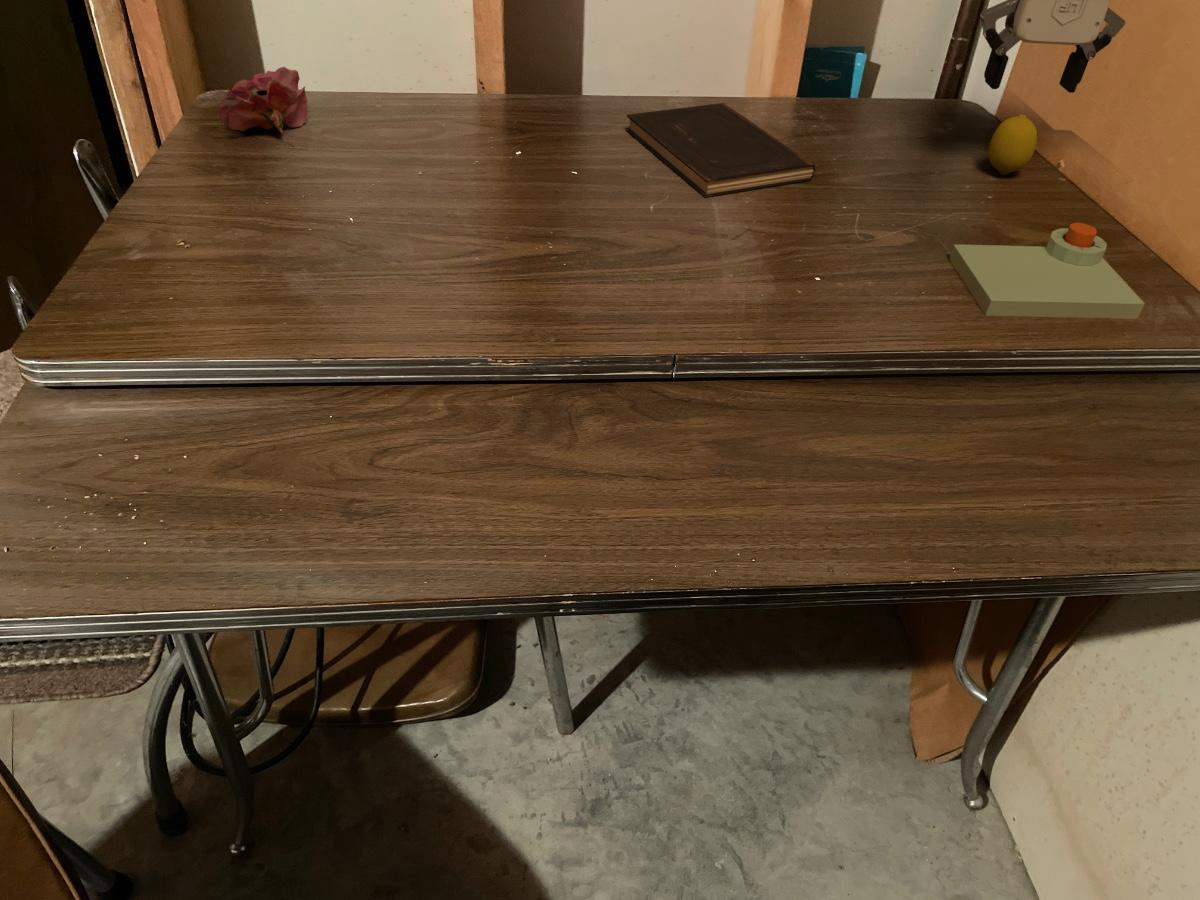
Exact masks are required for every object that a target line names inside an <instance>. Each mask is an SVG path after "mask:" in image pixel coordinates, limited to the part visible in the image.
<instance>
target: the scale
mask: <svg viewBox="0 0 1200 900" xmlns="http://www.w3.org/2000/svg"><path fill="white" fill-rule="evenodd" d="M1068 229H1069V227H1068V228H1066V227H1065V228H1063V227H1061V228H1057V229H1055V230H1053V231H1051V233H1050V236H1049V239H1048V241H1047V244H1046V246H1040V245H1039V246H1036V245H1035V246H1034V245H1000V244H999V245H997V244H996V245H993V244H992V245H991V244H953V245H952V249H951V251H950V254H949V258H948V260H949V261H950V263H951V264H952V266H953V268H954V269H955V271H956V272H957V274H958V275H959V277H960V279H961V280H962V281H963V283H964V285H965V286H966V288H967V289H968V291H969V292H970V294H971V295H972V297H973V298H974V300H975V301H976V303H977V305H978V306H979V308H980V309H981V311H982V312H983V314H984V315H985V316H990V317H992V316H993V317H994V316H995V317H1035V318H1036V317H1037V318H1038V317H1039V318H1040V317H1041V318H1042V317H1043V318H1082V319H1083V318H1084V319H1086V318H1087V319H1127V320H1128V319H1131V320H1133V319H1134V320H1137V319H1139V316H1140V314H1141V312H1142V310H1143V309H1144V306H1145V302H1144V301H1143V300H1142V299H1141V298H1140V297H1139V295H1138V294H1137V293H1136V292H1135V291H1134V290H1133V289H1132V288H1131V286H1129V285H1128V283H1127V282H1126V281H1125V280H1124V279H1123V278H1122V276H1120V275H1119V274H1118V273H1117V272H1116V270H1115V269H1114V268H1113V267H1112V266H1111V265H1110V264H1109V263H1108V262H1107V261H1106V259H1105V258H1104V255H1105V252H1106V251H1107V246H1108V244H1107V242H1106V241H1105V240H1104V239H1103V238H1102V237H1100V236H1098V235H1096V236H1095V238H1094V241H1093V243H1092V245H1091V247H1089V248H1082V247H1077V246H1073V245H1071V244H1069V243H1067V242H1065V241H1064V239H1065V236H1066V234H1067V231H1068Z"/></svg>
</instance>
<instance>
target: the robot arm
mask: <svg viewBox="0 0 1200 900" xmlns="http://www.w3.org/2000/svg"><path fill="white" fill-rule="evenodd" d="M1110 2H1111V0H1004V1H1002V2H1000V3H998V4H995V5H993V6H990V7H988V8H985V9H984V10H982V11H981V12H980V14H979V15H980V23H981V28H982V35H983V37H984V39H985V40H986V42H987V44H988V47H989V49H991V50H990V53H989V57H988V60H987V63H986V66H985V70H984V72H983V73H984V74H983V77H984V82H985V84H987V86H989V87H990V88H991V89H992V90H998V89H1000V86H1001V83H1002V80H1003V77H1004V74H1005V71H1006V68H1007V65H1008V62H1009V59H1010V58H1009V56H1008V55H1007V53H1008V51H1010V50H1012V48H1013V47H1014V46H1016V45H1017V44H1018V43H1019V42H1020V41H1021V42H1023V43H1030V44H1042V45H1043V44H1044V45H1045V44H1046V45H1062V46H1063V45H1065V46H1074V47H1075V51H1071V53H1070V54H1069V56H1068V59H1067V61H1066V64H1065V67H1064V69H1063V72H1062V73H1061V74H1062V75H1061V78H1060V80H1059V86H1061V87H1062V88H1063V89H1064V90H1065V91H1066V92H1067V93H1072V94H1074V93H1075V92H1076V89H1077V87H1078V85H1079V84H1081V82H1082V80H1083V78H1084V74H1085V71H1086V69H1087V66H1088V64H1089V62H1090V61H1091V60H1094V58H1095V57H1096V55H1097V54H1098V53H1099V52H1101V51H1102V50H1103V49H1104V48H1106V47H1107V46H1109V45H1110V44H1111V42H1112V39H1114V38H1115V37H1116V36H1117V34H1118V33H1119V32H1120V31H1121V30H1122V29H1123V28H1124V27H1125V25H1126V20H1125V19H1124V18H1123V17H1121V16H1120V15H1118V14H1117V13H1116V12H1115V11H1114V10H1113V9H1111V8H1110V7H1109V6H1110ZM1004 17H1005V21H1004V28H1003V29H1002V30H1001V31H1000V32H999V33H998V32H997V27H996V25H997V24H996V23H997V21H998V20H999V19H1002V18H1004ZM1104 22H1105V26H1104V27H1103V28H1102V26H1103V23H1104Z"/></svg>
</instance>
